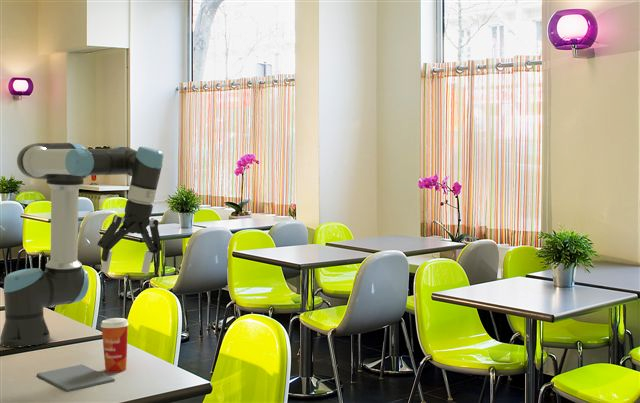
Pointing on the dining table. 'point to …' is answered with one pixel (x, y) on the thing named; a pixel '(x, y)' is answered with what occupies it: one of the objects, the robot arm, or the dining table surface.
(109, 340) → the paper cup
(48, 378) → the mat
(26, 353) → the dining table surface
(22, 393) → the dining table surface
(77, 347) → the dining table surface
